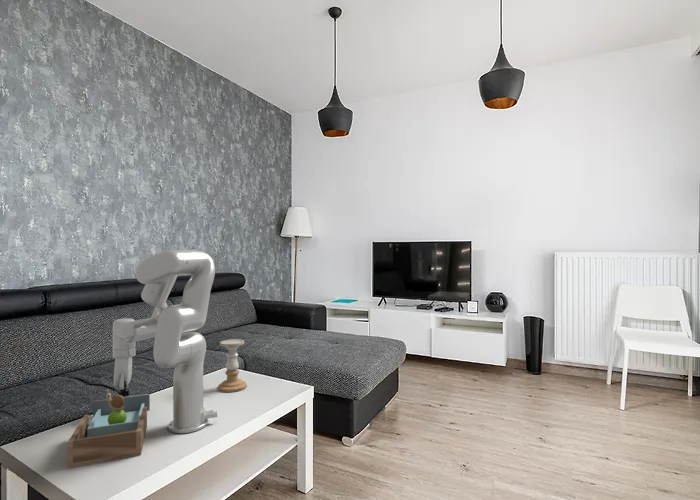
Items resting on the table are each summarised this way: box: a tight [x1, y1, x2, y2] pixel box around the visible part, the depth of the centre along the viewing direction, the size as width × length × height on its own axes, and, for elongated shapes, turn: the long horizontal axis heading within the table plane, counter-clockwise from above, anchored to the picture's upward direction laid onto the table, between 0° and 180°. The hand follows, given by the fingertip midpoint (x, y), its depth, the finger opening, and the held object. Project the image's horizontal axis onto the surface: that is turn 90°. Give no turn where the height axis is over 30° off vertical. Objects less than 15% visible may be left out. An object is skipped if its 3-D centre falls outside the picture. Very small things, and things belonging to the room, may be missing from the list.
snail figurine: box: [105, 388, 127, 425], centre depth 132 cm, size 5×6×12 cm
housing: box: [67, 407, 148, 469], centre depth 123 cm, size 20×18×7 cm
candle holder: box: [217, 338, 248, 393], centre depth 175 cm, size 12×12×20 cm
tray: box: [87, 393, 151, 438], centre depth 136 cm, size 19×18×6 cm
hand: (123, 401), depth 150 cm, fingers closed
